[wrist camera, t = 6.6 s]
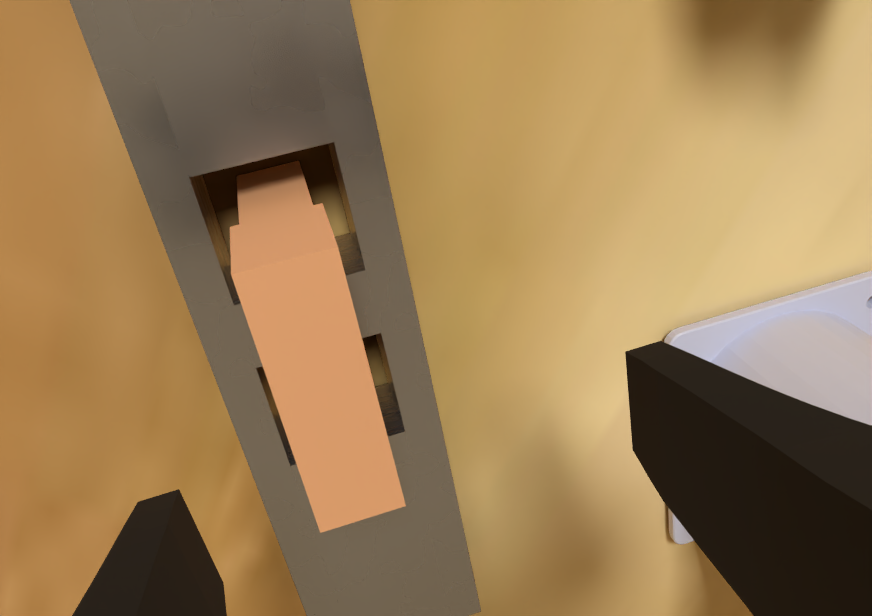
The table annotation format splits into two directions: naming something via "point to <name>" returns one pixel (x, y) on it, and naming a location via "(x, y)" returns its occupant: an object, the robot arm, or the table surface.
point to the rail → (360, 252)
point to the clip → (311, 347)
